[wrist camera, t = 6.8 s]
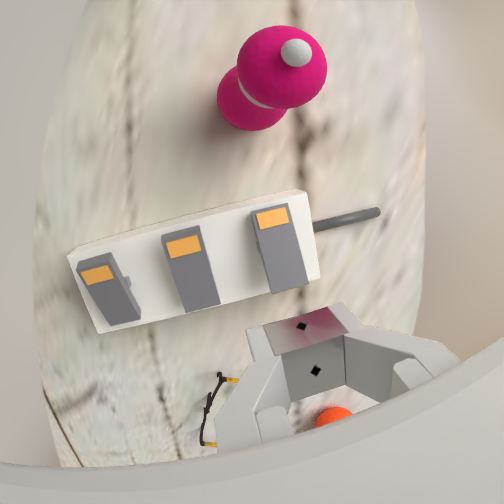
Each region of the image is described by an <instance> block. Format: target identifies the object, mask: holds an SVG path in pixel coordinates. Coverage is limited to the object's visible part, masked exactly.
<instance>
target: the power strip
mask: <svg viewBox="0 0 504 504" xmlns="http://www.w3.org/2000/svg"><path fill="white" fill-rule="evenodd" d="M283 203H288V206H289V209H290V213H291V216H292V220H293V224H294V227H295V231H296V235H297V239H298V242H299V246H300V250H301V254H302V258H303V261H304V265H305V269H306V273H307V277H308V281H311V280H315V279H318V278H321V277H320V270H319V264H318V257H317V251H316V244H315V238H314V233H315V232H319V231H323V230H327V229H331V228H335V227H339V226H342V225H346V224H350V223H354V222H358V221H362V220H366V219H370V218H374V217H378V216H379V215H380V213H381V211H380V209H379V208H376V207H375V208H371V209H367V210H363V211H359V212H355V213H351V214H346V215H342V216H338V217H334V218H330V219H326V220H322V221H318V222H314V223H312V220H311V214H310V208H309V203H308V197H307V192H304V191H301V190H298V189H292V190H288V191H283V192H279V193H274V194H270V195H266V196H261V197H257V198H253V199H249V200H245V201H241V202H236V203H232V204H228V205H224V206H220V207H216V208H212V209H208V210H205V211H201V212H197V213H193V214H189V215H185V216H182V217H178V218H174V219H171V220H167V221H163V222H160V223H156V224H152V225H149V226H145V227H142V228H138V229H135V230H131V231H128V232H124V233H121V234H117V235H114V236H111V237H107V238H104V239H101V240H97V241H94V242H91V243H87V244H84V245H81V246H78V247H77V248H76V249H75V250H73V251H72V252H71V253H70V254H69V255H68V256H67V258H68V261H69V264H70V266H71V269H72V272H73V274H74V277H75V280H76V282H77V285H78V287H79V290H80V292H81V295H82V297H83V300H84V302H85V305H86V307H87V309H88V312H89V314H90V316H91V319H92V321H93V323H94V325H95V327H96V330H97V332H98V334H101V333H106V332H110V331H115V330H119V329H124V328H128V327H133V326H137V325H142V324H146V323H150V322H154V321H159V320H163V319H167V318H171V317H175V316H180V315H184V314H188V313H186V312H185V310H184V307H183V304H182V301H181V299H180V296H179V293H178V290H177V287H176V284H175V282H174V279H173V276H172V273H171V270H170V267H169V264H168V261H167V258H166V255H165V252H164V249H163V246H162V243H161V236H162V235H163V234H167V233H170V232H174V231H178V230H182V229H185V228H189V227H193V226H197V225H200V229H201V233H202V236H203V240H204V244H205V247H206V251H207V254H208V258H209V262H210V265H211V269H212V272H213V276H214V279H215V283H216V286H217V290H218V293H219V297H220V301H221V304H220V305H223V304H227V303H231V302H235V301H239V300H243V299H246V298H250V297H254V296H258V295H261V294H265V293H269V292H270V288H269V284H268V280H267V277H266V273H265V269H264V265H263V261H262V258H261V254H260V250H259V246H258V242H257V238H256V235H255V231H254V227H253V223H252V220H251V216H250V212H251V211H254V210H258V209H262V208H267V207H271V206H275V205H279V204H283ZM109 252H111V253H112V255H113V257H114V259H115V261H116V263H117V265H118V267H119V269H120V271H121V273H122V275H123V277H124V279H125V281H126V283H127V285H128V287H129V289H130V290H131V292H132V294H133V296H134V298H135V300H136V302H137V304H138V305H139V307H140V309H141V319H140V320H136V321H132V322H127V323H123V324H119V325H114V326H110V325H109V323H108V322H107V320H106V319H105V317H104V316H103V314H102V313H101V311H100V310H99V308H98V306H97V305H96V303H95V302H94V300H93V298H92V297H91V295H90V294H89V292H88V290H87V289H86V287H85V285H84V284H83V282H82V280H81V279H80V277H79V275H78V273H77V272H76V267H77V264H78V261H81V260H85V259H88V258H91V257H95V256H98V255H102V254H105V253H109ZM220 305H217V306H220ZM213 307H216V306H213ZM209 308H212V307H209ZM205 309H208V308H205ZM201 310H204V309H201ZM197 311H200V310H197ZM193 312H196V311H193ZM189 313H192V312H189Z"/></svg>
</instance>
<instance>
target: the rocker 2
mask: <svg viewBox="0 0 504 504" xmlns="http://www.w3.org/2000/svg"><path fill="white" fill-rule="evenodd" d="M161 243H162V246H163V249H164V252H165V255H166V258H167V261H168V264H169V267H170V270H171V273H172V276H173V279H174V282H175V284H176V287H177V290H178V293H179V296H180V299H181V301H182V304H183V307H184V310H185V312H186V313H189V312H193V311H197V310H201V309H205V308H209V307H213V306H217V305H220V304H221V301H220V297H219V293H218V290H217V286H216V283H215V279H214V276H213V272H212V269H211V265H210V262H209V258H208V254H207V251H206V247H205V244H204V240H203V236H202V233H201V229H200V225H197V226H193V227H189V228H185V229H182V230H178V231H174V232H170V233H167V234H163V235H162V236H161Z"/></svg>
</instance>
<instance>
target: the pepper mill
mask: <svg viewBox="0 0 504 504" xmlns="http://www.w3.org/2000/svg"><path fill="white" fill-rule="evenodd" d="M326 75H327V62H326V58H325V55H324V52H323V50H322V48H321V47H320V45H319V44H318V43H317V41H316V40H315V39H314V38H313V37H312V36H310V35H309V34H307V33H306V32H304V31H302V30H300V29H297V28H295V27H290V26H283V25H281V26H272V27H268V28H264V29H262V30H260V31H258V32H256V33H254V34H253V35H252V36H251V37H249V38H248V39H247V41H246V42H245V43H244V45H243V46H242V48H241V49H240V52H239V55H238V59H237V66H235V67H234V68H232V69H231V70H229V71H228V72H227V73H226V75H225V76H224V77H223V79H222V80H221V82H220V84H219V87H218V91H217V102H218V106H219V108H220V111H221V113H222V115H223V116H224V118H225V119H226V120H227V121H228V122H229V123H230V124H232V125H233V126H235V127H238V128H241V129H244V130H251V131H256V130H263V129H266V128H269V127H270V126H272V125H274V124H275V123H277V122H278V121H279V120H280V119H281V118H282V117H283V116H284V114H285V113H286V111H287V109H289V108H295V107H298V106H301V105H303V104H305V103H307V102H308V101H310V100H311V99H313V98H314V97H315V96H316V95H317V94H318V93H319V91H320V90H321V88H322V86H323V85H324V83H325V79H326Z"/></svg>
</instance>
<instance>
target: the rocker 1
mask: <svg viewBox="0 0 504 504" xmlns="http://www.w3.org/2000/svg"><path fill="white" fill-rule="evenodd" d="M76 272H77V273H78V275H79V277H80V279H81V280H82V282H83V284H84V285H85V287H86V289H87V290H88V292H89V294H90V295H91V297H92V298H93V300H94V302H95V303H96V305H97V306H98V308H99V310H100V311H101V313H102V314H103V316H104V317H105V319H106V320H107V322H108V323H109V325H110V326H114V325H119V324H123V323H127V322H132V321H136V320H140V319H141V309H140V307H139V305H138V304H137V302H136V300H135V298H134V296H133V294H132V292H131V290H130V289H129V287H128V285H127V283H126V281H125V279H124V277H123V275H122V273H121V271H120V269H119V267H118V265H117V263H116V261H115V259H114V257H113V255H112V253H111V252H109V253H105V254H102V255H98V256H95V257H91V258H88V259H85V260H81V261H78V264H77V267H76Z"/></svg>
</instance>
